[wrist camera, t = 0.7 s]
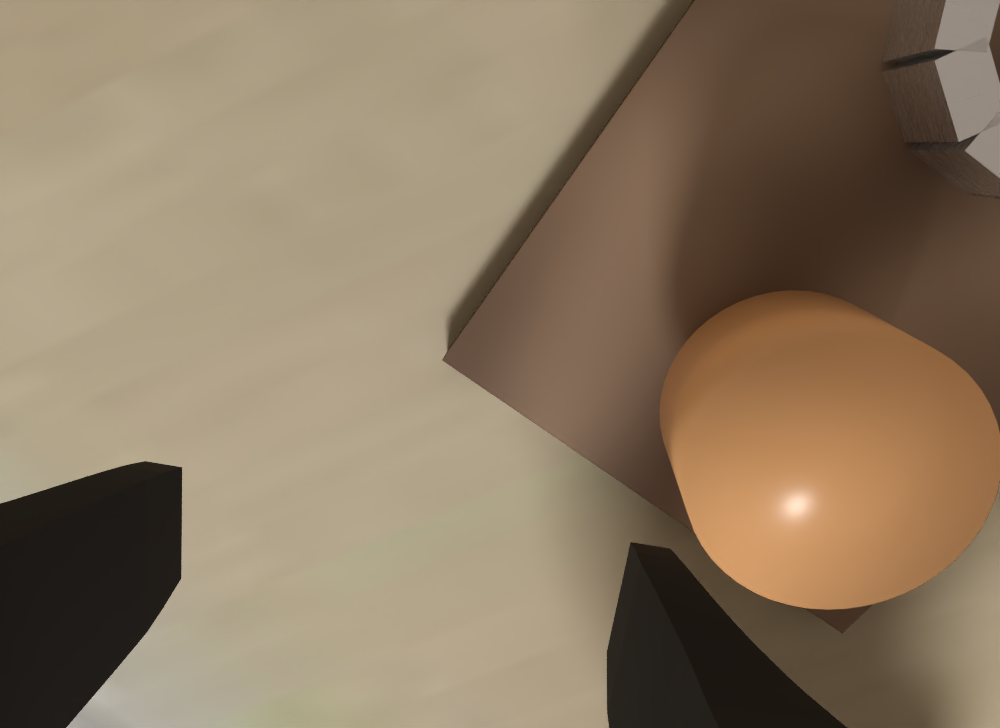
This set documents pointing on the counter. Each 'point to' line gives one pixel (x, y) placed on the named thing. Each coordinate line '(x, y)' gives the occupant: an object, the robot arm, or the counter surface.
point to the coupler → (826, 450)
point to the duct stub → (947, 88)
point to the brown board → (733, 230)
